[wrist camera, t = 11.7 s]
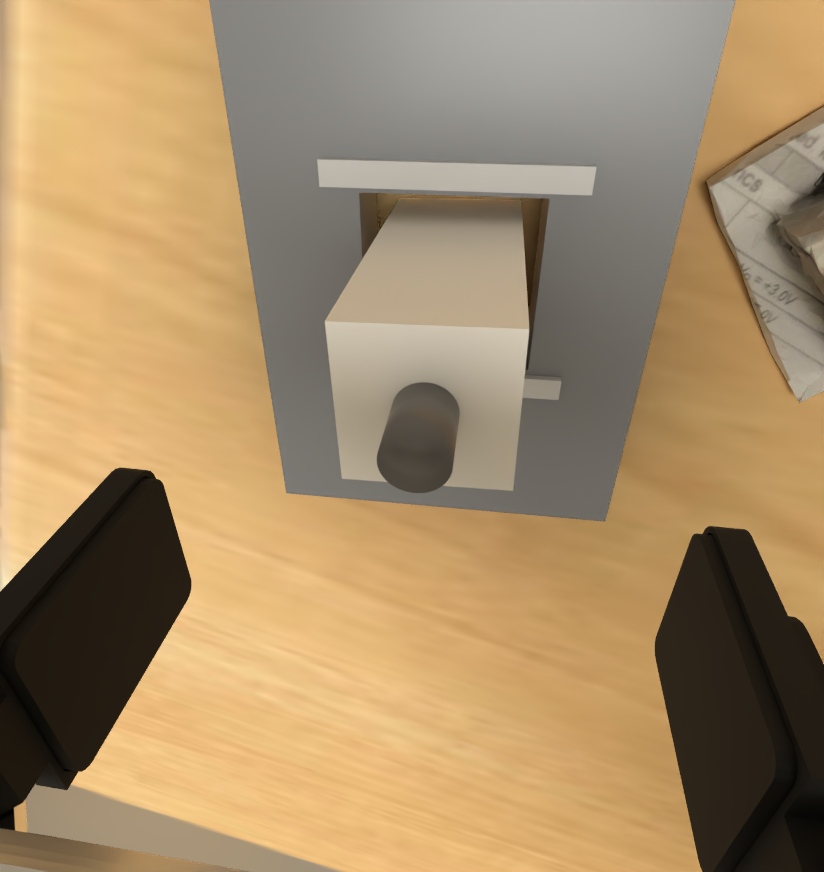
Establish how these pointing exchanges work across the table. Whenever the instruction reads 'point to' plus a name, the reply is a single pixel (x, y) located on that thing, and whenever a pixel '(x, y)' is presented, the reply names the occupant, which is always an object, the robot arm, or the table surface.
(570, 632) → the table surface
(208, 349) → the table surface
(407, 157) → the plate
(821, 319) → the packaged product
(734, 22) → the table surface
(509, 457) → the charger plug
